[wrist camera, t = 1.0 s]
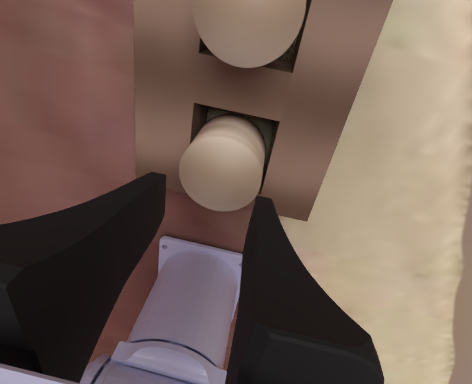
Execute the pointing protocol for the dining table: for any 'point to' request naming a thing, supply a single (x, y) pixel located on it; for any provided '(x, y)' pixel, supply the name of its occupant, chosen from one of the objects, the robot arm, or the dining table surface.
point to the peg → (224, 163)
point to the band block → (252, 92)
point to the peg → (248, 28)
